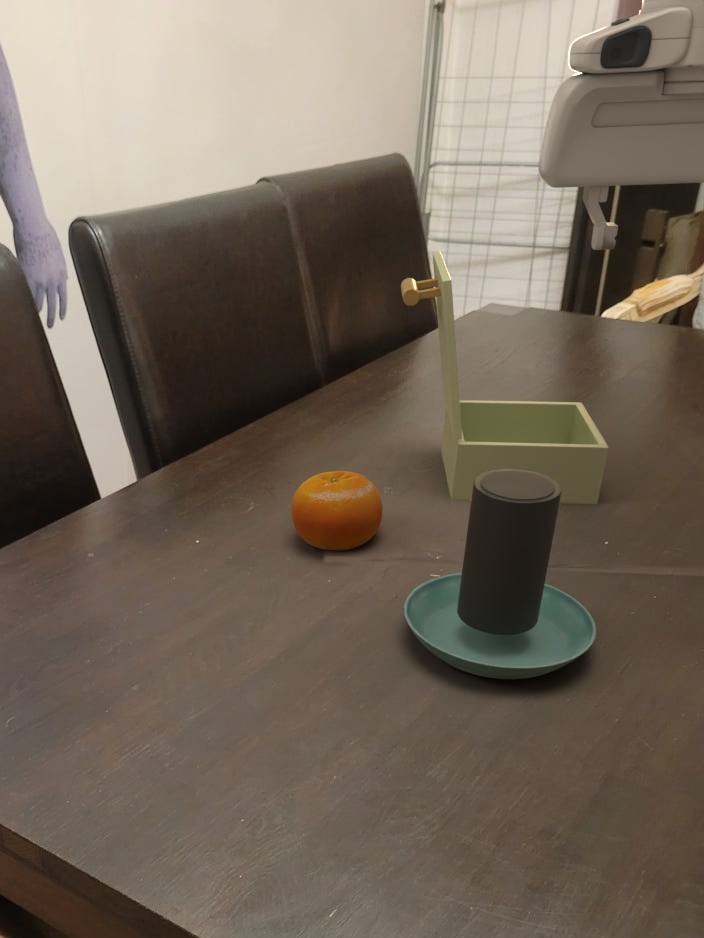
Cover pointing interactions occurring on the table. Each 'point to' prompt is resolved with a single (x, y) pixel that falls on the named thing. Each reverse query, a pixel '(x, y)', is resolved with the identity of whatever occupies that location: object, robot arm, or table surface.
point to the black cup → (507, 550)
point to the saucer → (499, 656)
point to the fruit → (337, 510)
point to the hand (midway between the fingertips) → (665, 247)
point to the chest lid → (441, 332)
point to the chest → (526, 446)
